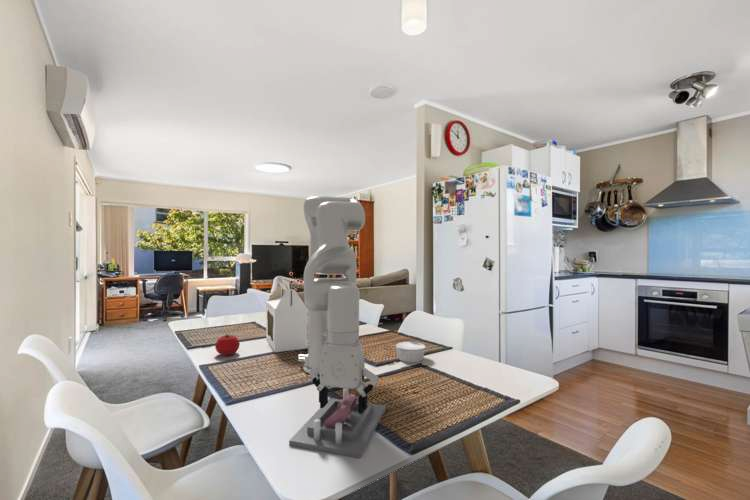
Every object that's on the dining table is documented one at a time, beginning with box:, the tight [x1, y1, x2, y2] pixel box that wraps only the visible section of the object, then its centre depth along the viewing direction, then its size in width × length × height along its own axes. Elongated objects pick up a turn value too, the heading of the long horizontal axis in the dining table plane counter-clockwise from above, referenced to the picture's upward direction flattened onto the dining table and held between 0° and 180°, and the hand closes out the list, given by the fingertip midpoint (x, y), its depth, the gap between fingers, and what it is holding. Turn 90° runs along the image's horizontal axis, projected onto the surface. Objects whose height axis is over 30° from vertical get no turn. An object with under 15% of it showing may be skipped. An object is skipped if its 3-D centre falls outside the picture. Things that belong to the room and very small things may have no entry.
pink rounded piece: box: [325, 393, 359, 429], centre depth 83 cm, size 10×5×7 cm, turn 166°
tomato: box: [214, 333, 240, 356], centre depth 137 cm, size 9×9×8 cm
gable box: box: [265, 278, 308, 353], centre depth 152 cm, size 22×13×28 cm, turn 26°
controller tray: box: [288, 388, 387, 459], centre depth 83 cm, size 16×22×5 cm
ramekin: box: [395, 341, 427, 364], centre depth 133 cm, size 11×11×5 cm
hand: (342, 408), depth 83 cm, fingers open, 9 cm apart
